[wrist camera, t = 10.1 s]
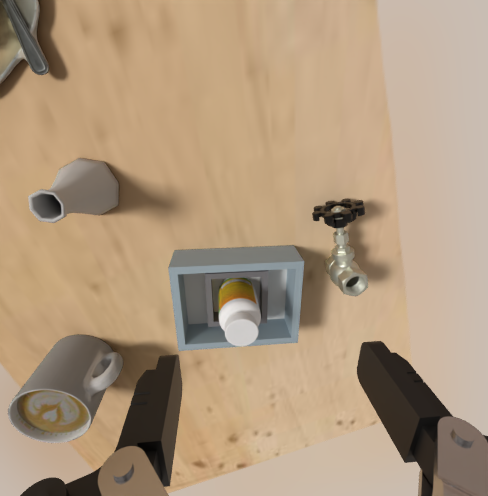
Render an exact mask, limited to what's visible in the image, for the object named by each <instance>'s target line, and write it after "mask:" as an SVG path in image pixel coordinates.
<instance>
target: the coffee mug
mask: <svg viewBox="0 0 488 496" xmlns="http://www.w3.org/2000/svg"><path fill="white" fill-rule="evenodd" d="M122 367H123V358H122V356H121V355H120V354H119V353H117V352H114V351H113V350H112V349H111V347H110V346H109V345H108V344H106V343H105V342H104V341H102V340H100V339H98V338H96V337H92V336H88V335H71V336H67V337H65V338H63V339H61V340H59V341H58V342H57V343H56V344H55V345H54V346H53V348H52V349H51V350H50V352H49V353H48V354H47V356H46V357H45V358H44V359H43V361H42V362H41V363H40V365H39V366H38V367H37V369H36V370H35V371H34V373H33V374H32V375H31V377H30V378H29V379H28V380H27V382H26V383H25V384H24V386H23V387H22V388H21V390H20V391H19V392H18V394H17V395H16V396H15V398H14V399H13V400H12V402H11V404H10V405H9V409H8V416H9V419H10V422H11V424H12V425H13V426H14V427H15V428H16V429H17V430H18V431H19V432H20V433H22V434H23V435H25V436H27V437H29V438H31V439H34V440H38V441H42V442H48V443H61V442H68V441H71V440H74V439H76V438H78V437H80V436H82V435H83V434H84V433H85V432H86V431H87V430H88V429H89V427H90V425H91V423H92V421H93V419H94V416H95V414H96V412H97V409H98V407H99V405H100V402H101V400H102V398H103V395H104V393H105V391H106V388H107V387H109V386H110V385H111V384H112V383H113V382H114V381H115V380H116V379H117V377H118V376H119V374H120V372H121V370H122Z"/></svg>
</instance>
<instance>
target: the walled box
mask: <svg viewBox="0 0 488 496" xmlns="http://www.w3.org/2000/svg"><path fill="white" fill-rule="evenodd" d="M168 268H169V276H170V284H171V292H172V300H173V309H174V317H175V325H176V333H177V341H178V349H179V351H184V350H198V349H213V348H227V347H242V346H235V345H232V344H231V343H229V342H228V341H227V339H226V337H225V331H224V330H223V329H222V328H221V326H220V323H219V299H218V291H219V287H220V285H221V283H222V282H223V281H224V280H225V279H226V278H248V279H249V280H250V281H251V282H252V283H253V285H254V288H255V291H256V296H257V300H258V304H259V308H260V313H261V321H260V324H259V326H258V330H259V333H258V337H257V338H256V340H255V341H254V342H253V343H251V344H249V345H247V346H256V345H271V344H285V343H298V333H299V320H300V308H301V296H302V283H303V271H304V260H303V259H302V257H301V256H300V254H299V253H298V251H297V250H296V248H295V247H294V245H289V246H265V247H240V248H216V249H192V250H175V251H174V253H173V256H172V259H171V262H170V265H169V267H168Z"/></svg>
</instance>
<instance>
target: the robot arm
mask: <svg viewBox="0 0 488 496" xmlns="http://www.w3.org/2000/svg"><path fill="white" fill-rule="evenodd" d="M357 375H358V379H359V382H360V384H361V386H362V388H363V389H364V391H365V393H366V395H367V396H368V398H369V400H370V402H371V404H372V405H373V407H374V409H375V411H376V412H377V414H378V416H379V418H380V419H381V421H382V423H383V425H384V427H385V428H386V430H387V432H388V434H389V435H390V437H391V439H392V441H393V443H394V444H395V446H396V448H397V450H398V451H399V453H400V455H401V457H402V458H403V460H404V462H405V463H407V462H417V463H418V464H419V466H420V468H421V470H420V474H419V489H418V496H488V436H485V435H482V434H481V432H480V431H479V430H477V429H476V428H475V427H474V426H472V425H471V424H469V423H468V422H466V421H464V420H462V419H459V418H456V417H453V416H452V415H451V414H450V412H449V411H448V410H447V409H446V407H445V406H444V405H443V404H442V403H441V401H440V400H439V399H438V398H437V397H436V395H435V394H434V393H433V392H432V390H431V389H430V388H429V387H428V386H427V385H426V383H425V382H423V380H422V379H421V377H420V376H419V375H418V374H416V371H415V370H414V369H413V367H412V366H411V365H410V364H409V362H408V361H406V360H405V359H404V358H402V357H401V356H400V355H398V354H397V353H391V352H390V351H389V349H388V348H387V347H386V345H385V344H384V343H383V342H381V341H374V342H363V343H362V345H361V350H360V355H359V361H358V366H357ZM181 398H182V378H181V370H180V362H179V356H178V355H166V356H160V357H159V360H158V364H157V368H156V370H146V371H145V373H144V374H143V375H142V376H141V378H140V379H139V380H138V382H137V385H136V388H135V391H134V396H133V398H132V401H131V406H130V407H129V410H128V413H127V417H126V420H125V423H124V426H123V429H122V432H121V435H120V439H119V442H118V445H117V447H116V450H115V451H114V453H113V454H112V455H111V456H110V457H109V458H108V459H107V460H106V461H105V462H104V464H103V466H102V467H100V468H99V469H98V470H96V471H94V472H93V473H91V474H89V475H86V476H84V477H82V478H79V479H77V480H75V481H72V482H70V483H68V484H65V483H64V482H63V481H62V480H61V479H59V478H47V479H43V480H41V481H39V482H37V483H35V484H34V485H32V486H31V487H29V488H28V489H27V490H26V491H24V492H23V493H22V494H21V495H20V496H169V495H168V494H167V492H166V490H165V488H164V487H167V486H170V480H171V473H172V465H173V458H174V450H175V443H176V436H177V428H178V421H179V413H180V406H181Z"/></svg>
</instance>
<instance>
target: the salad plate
mask: <svg viewBox="0 0 488 496" xmlns="http://www.w3.org/2000/svg"><path fill="white" fill-rule="evenodd" d="M39 14H40V8H39V2H38V0H0V84H1V83H2V82H3V81H4V80H5V79H6V78H7V76H8V75H9V74H10V73H11V72H12V70H13V69H14V67H15V66H16V65H17V64H18V63H19V62H20V61H21V60H22V59H26V60H27V62H28V64H29V66H30V68H31V69H32V71H33V72H34V73H36V74H38V75H44V74H47V73H48V71H49V65H48V62H47V60H46V58H45V56H44V54H43V52H42V50H41V47H40V46H39V44H38V41H37V26H38V20H39Z"/></svg>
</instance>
